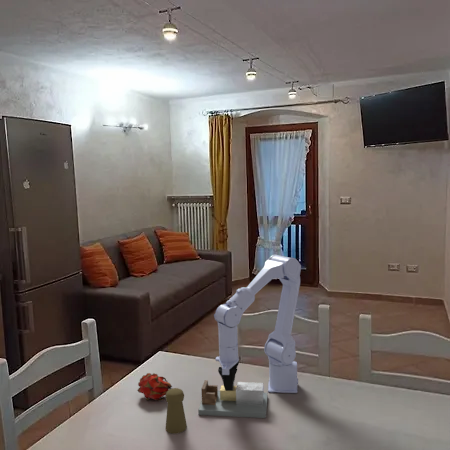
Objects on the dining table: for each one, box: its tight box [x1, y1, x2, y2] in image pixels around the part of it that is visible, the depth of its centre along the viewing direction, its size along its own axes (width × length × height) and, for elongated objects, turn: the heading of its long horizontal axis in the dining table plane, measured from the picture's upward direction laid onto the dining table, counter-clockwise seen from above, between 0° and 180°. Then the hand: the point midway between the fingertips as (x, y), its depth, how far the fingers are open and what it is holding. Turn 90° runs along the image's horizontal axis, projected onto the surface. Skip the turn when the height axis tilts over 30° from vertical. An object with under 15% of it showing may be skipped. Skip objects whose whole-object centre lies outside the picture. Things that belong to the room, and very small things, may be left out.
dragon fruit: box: [136, 372, 173, 402], centre depth 139 cm, size 8×8×12 cm
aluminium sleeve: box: [236, 381, 265, 407], centre depth 132 cm, size 8×5×5 cm, turn 82°
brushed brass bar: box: [219, 381, 237, 401], centre depth 132 cm, size 12×3×7 cm, turn 82°
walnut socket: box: [201, 379, 219, 405], centre depth 133 cm, size 4×6×5 cm
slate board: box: [197, 390, 268, 419], centre depth 133 cm, size 20×12×2 cm, turn 82°
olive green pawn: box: [164, 387, 188, 435], centre depth 121 cm, size 6×6×11 cm
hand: (229, 386), depth 132 cm, fingers open, 3 cm apart
